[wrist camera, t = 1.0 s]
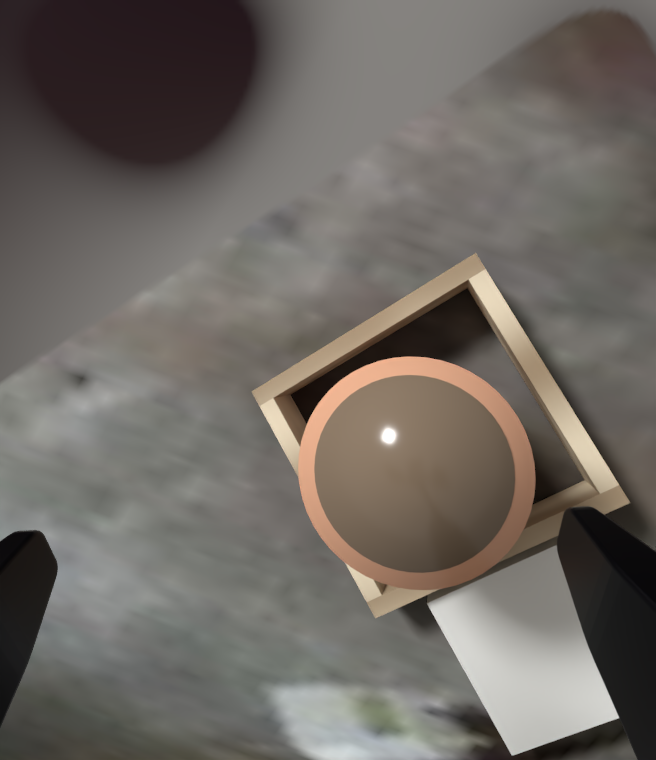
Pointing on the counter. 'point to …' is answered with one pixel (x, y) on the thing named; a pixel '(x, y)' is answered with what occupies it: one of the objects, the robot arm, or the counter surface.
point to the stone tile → (525, 649)
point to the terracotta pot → (416, 473)
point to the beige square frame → (472, 274)
